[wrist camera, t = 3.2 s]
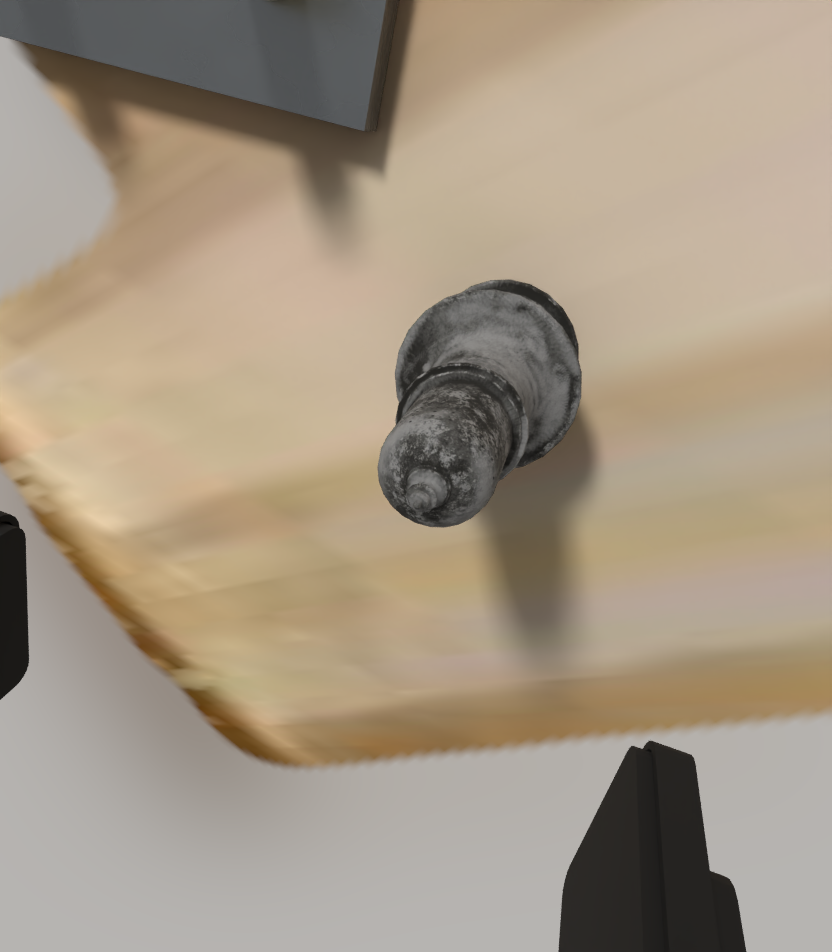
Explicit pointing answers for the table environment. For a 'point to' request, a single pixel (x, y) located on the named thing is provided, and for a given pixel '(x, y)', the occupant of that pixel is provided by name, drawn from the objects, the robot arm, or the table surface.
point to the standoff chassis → (231, 47)
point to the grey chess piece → (477, 398)
